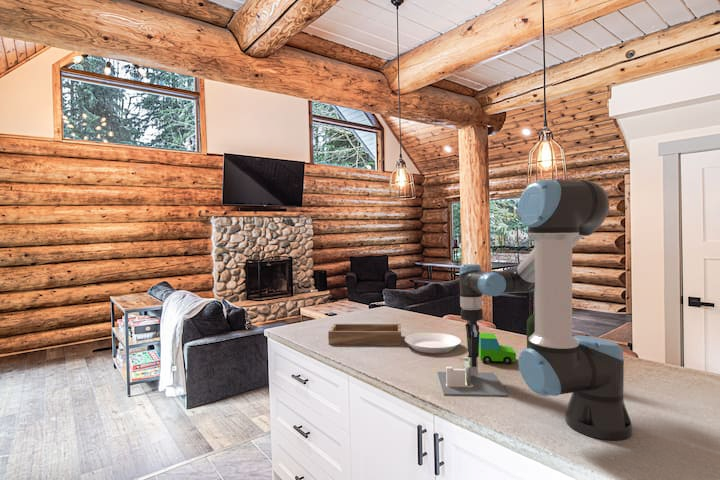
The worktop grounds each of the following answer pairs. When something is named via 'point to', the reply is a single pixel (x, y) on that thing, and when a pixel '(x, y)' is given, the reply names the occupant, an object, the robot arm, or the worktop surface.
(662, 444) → the worktop surface
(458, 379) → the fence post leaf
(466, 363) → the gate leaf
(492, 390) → the mat
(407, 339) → the white plate
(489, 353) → the toy car
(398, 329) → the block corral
